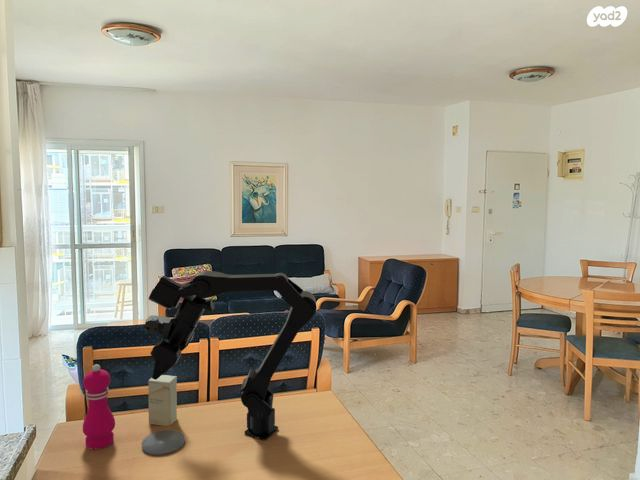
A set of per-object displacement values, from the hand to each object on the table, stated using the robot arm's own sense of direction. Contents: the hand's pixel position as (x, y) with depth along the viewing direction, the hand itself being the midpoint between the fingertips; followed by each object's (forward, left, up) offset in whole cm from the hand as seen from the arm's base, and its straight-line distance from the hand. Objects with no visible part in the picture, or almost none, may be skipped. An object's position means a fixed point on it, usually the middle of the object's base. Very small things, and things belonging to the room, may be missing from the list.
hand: (159, 371), depth 120 cm
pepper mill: (+10, +11, -17) cm, 22 cm away
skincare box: (+4, -4, -17) cm, 18 cm away
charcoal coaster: (-4, +4, -16) cm, 17 cm away
